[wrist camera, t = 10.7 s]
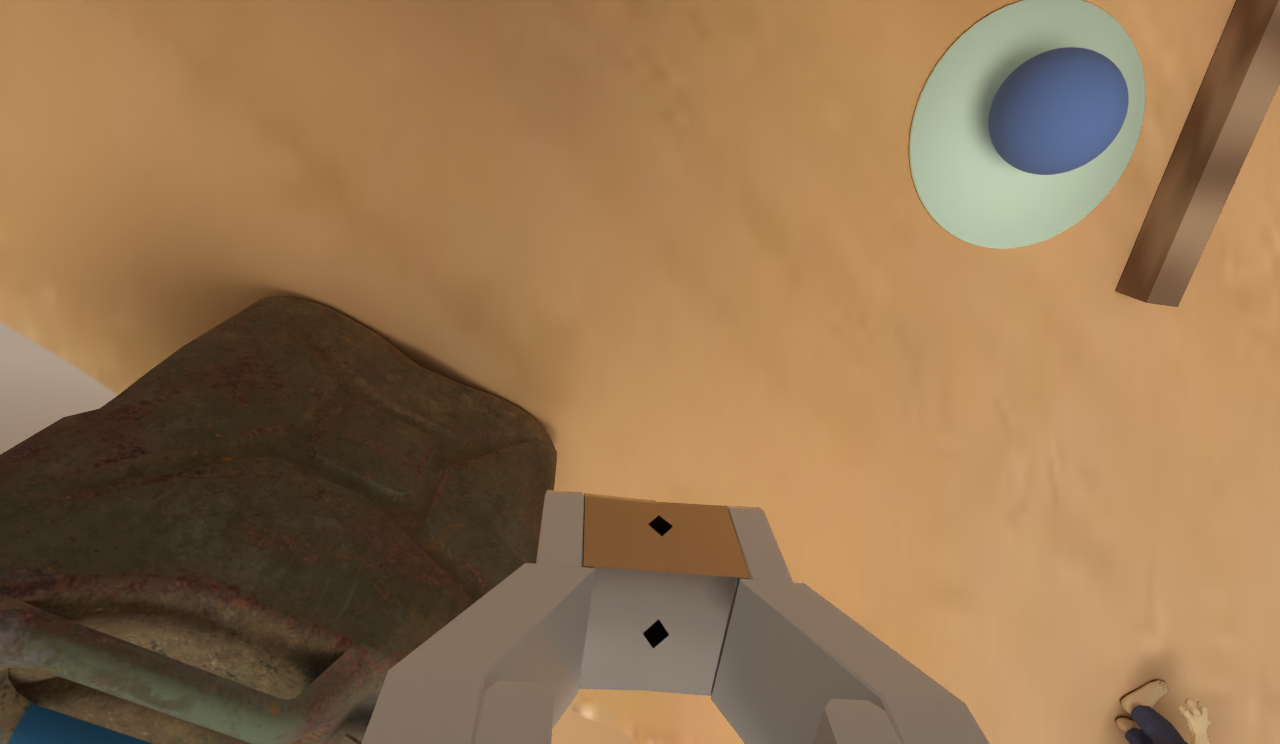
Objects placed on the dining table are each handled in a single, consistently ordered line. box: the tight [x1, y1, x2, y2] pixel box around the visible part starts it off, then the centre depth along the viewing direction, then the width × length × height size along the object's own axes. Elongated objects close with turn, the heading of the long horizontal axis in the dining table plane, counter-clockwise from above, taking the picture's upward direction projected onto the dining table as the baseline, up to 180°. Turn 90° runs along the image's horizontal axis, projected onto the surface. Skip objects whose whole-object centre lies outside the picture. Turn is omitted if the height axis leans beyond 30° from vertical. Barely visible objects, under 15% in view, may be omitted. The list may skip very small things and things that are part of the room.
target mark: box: [909, 0, 1145, 249], centre depth 37 cm, size 13×13×1 cm
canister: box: [0, 296, 557, 744], centre depth 30 cm, size 19×8×25 cm, turn 58°
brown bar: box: [1116, 0, 1280, 307], centre depth 37 cm, size 16×2×2 cm, turn 172°
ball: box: [988, 47, 1129, 175], centre depth 34 cm, size 6×6×6 cm
